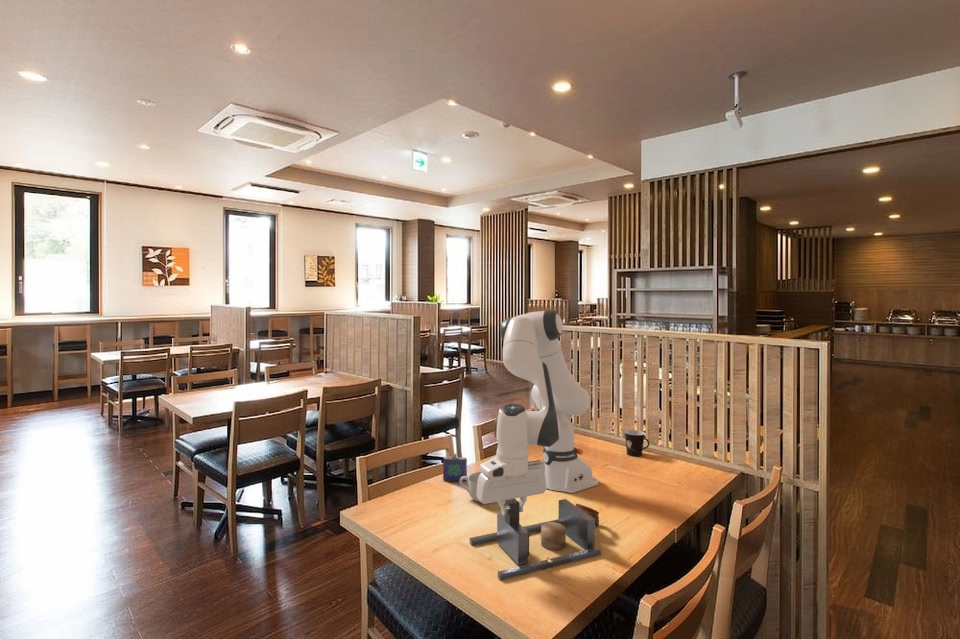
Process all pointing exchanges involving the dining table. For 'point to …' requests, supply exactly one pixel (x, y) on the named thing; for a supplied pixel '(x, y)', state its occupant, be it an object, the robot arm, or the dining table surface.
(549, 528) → the brown short cylinder
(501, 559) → the dining table surface
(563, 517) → the press frame
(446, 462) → the flask
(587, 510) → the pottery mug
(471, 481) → the teacup
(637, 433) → the coffee mug
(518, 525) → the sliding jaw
